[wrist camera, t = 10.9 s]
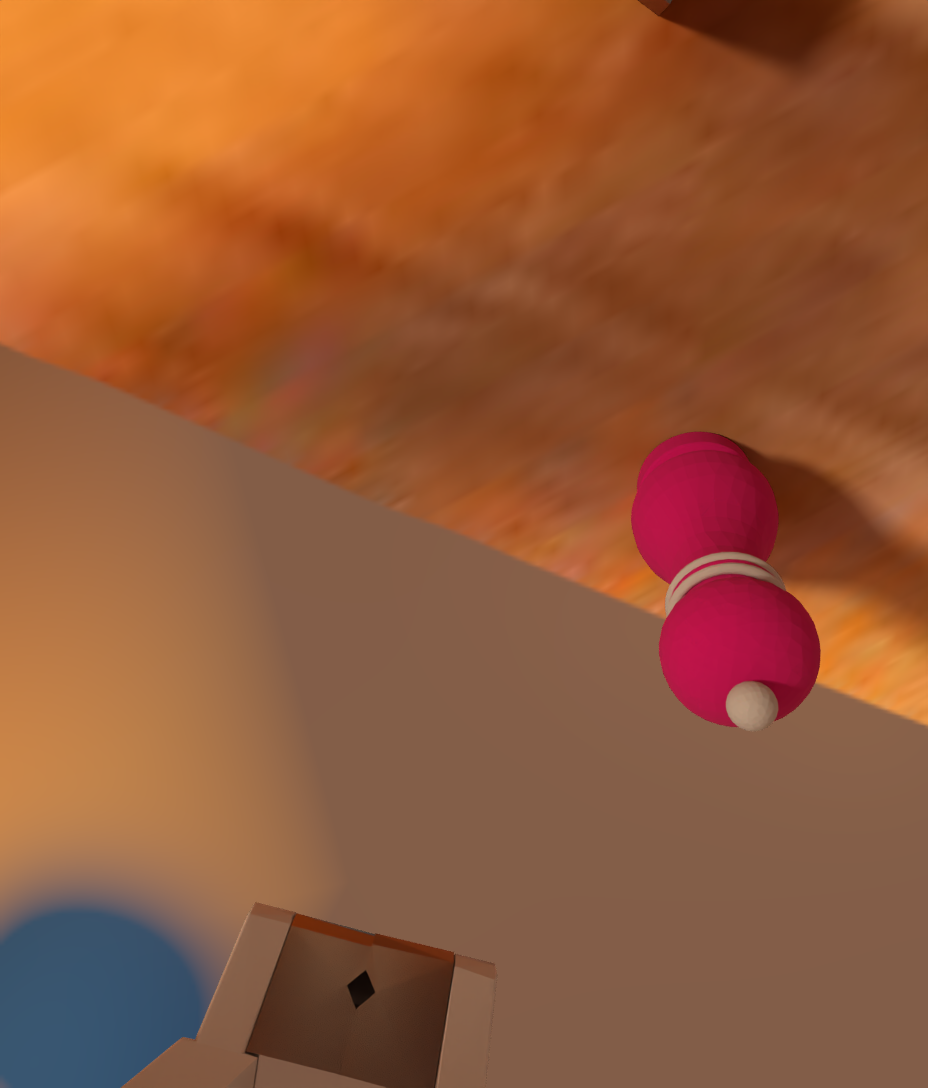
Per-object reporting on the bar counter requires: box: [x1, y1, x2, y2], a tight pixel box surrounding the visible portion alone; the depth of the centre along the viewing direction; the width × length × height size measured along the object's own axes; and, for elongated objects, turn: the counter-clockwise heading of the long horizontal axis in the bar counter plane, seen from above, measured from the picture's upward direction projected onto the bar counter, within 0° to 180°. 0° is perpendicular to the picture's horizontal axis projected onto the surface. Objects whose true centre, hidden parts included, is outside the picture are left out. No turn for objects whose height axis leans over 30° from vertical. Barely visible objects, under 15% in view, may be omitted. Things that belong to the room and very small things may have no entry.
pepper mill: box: [631, 432, 820, 731], centre depth 37 cm, size 7×7×20 cm
